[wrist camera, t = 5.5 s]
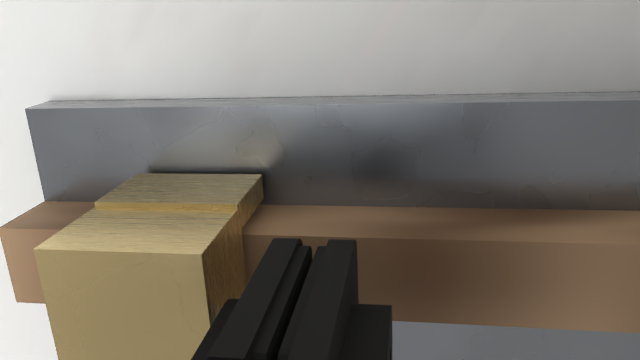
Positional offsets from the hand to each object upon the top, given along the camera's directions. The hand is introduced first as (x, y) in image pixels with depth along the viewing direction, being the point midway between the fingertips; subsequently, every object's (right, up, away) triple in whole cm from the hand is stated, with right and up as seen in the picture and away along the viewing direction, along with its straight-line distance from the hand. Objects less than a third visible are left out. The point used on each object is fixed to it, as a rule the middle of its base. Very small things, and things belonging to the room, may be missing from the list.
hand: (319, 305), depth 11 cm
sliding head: (-3, -1, +4) cm, 5 cm away
